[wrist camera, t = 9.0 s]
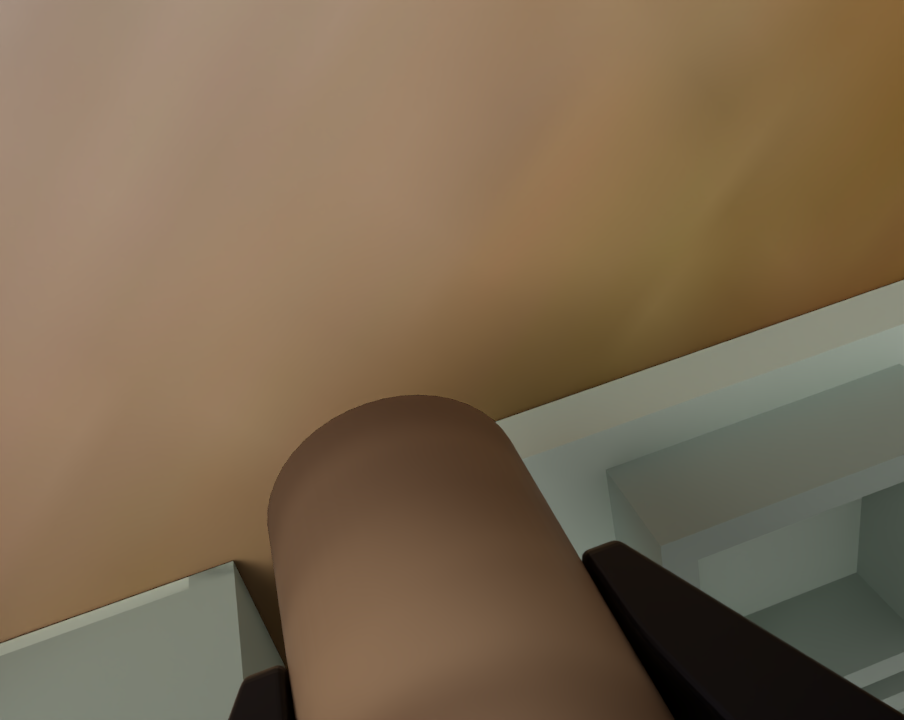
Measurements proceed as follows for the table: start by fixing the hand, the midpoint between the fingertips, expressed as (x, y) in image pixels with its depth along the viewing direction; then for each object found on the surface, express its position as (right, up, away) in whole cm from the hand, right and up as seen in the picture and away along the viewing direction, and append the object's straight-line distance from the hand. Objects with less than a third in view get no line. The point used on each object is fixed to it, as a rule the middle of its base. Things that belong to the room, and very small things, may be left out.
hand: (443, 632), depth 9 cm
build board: (+6, -3, +11) cm, 13 cm away
